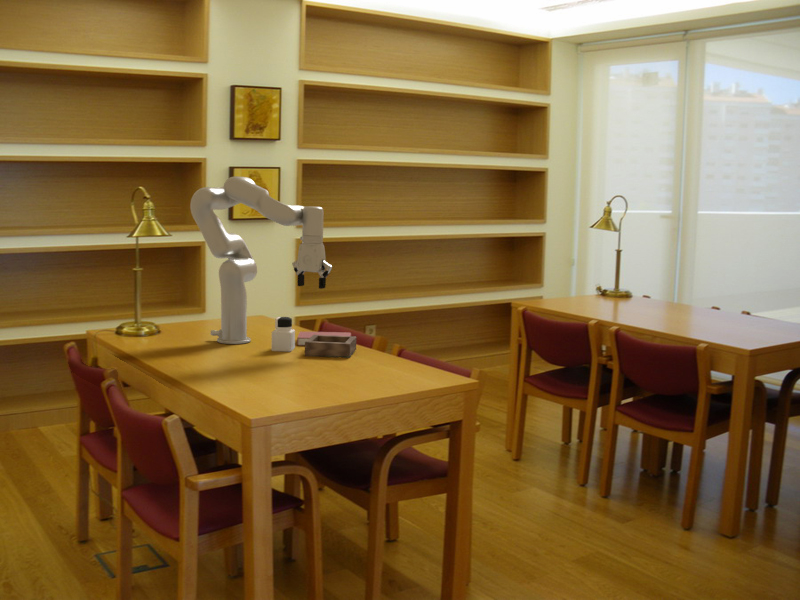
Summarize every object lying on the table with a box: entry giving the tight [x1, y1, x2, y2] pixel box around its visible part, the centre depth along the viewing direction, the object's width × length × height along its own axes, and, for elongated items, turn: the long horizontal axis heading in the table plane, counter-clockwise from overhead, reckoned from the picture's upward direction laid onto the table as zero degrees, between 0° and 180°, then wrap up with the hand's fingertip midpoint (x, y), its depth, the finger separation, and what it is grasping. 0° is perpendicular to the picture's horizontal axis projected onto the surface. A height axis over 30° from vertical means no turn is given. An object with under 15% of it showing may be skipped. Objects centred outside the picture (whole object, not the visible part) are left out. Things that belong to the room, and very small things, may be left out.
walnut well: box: [304, 335, 357, 359], centre depth 302 cm, size 16×16×5 cm
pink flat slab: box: [296, 331, 352, 347], centre depth 322 cm, size 20×14×3 cm
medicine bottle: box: [271, 316, 296, 353], centre depth 305 cm, size 7×7×12 cm
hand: (311, 287), depth 306 cm, fingers open, 9 cm apart
